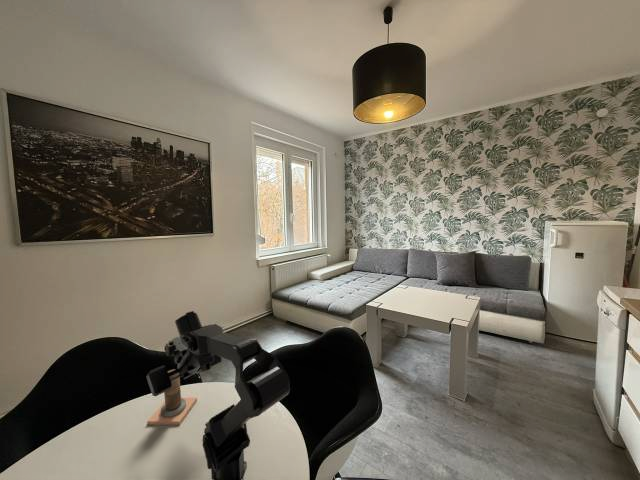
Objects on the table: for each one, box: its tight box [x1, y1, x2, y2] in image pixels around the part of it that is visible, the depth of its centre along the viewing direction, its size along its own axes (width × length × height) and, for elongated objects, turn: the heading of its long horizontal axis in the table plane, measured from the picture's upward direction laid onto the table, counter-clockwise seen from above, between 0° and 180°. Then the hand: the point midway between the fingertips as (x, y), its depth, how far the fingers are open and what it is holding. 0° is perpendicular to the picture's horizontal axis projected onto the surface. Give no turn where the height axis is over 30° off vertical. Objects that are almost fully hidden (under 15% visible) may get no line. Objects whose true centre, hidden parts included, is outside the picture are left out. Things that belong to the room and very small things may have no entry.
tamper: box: [161, 368, 186, 418], centre depth 79 cm, size 7×7×12 cm
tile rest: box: [146, 397, 198, 426], centre depth 80 cm, size 10×10×1 cm
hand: (179, 378), depth 75 cm, fingers open, 9 cm apart
